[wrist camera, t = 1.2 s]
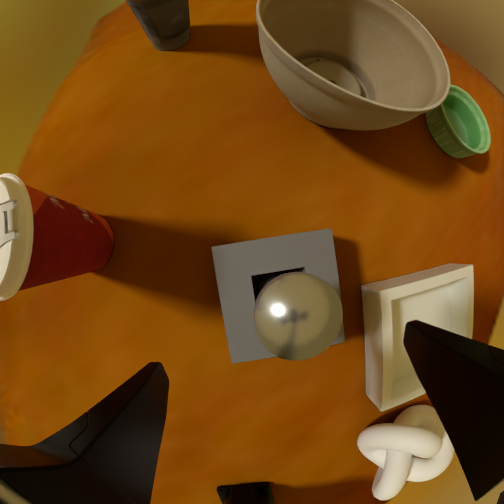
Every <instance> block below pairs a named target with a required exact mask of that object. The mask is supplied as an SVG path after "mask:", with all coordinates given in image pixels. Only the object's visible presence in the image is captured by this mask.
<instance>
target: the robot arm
mask: <svg viewBox="0 0 504 504" xmlns="http://www.w3.org/2000/svg"><path fill="white" fill-rule="evenodd" d="M403 344H404V347H405V349H406V352H407V354H408V356H409V358H410V361H411V363H412V365H413V368H414V370H415V373H416V375H417V377H418V379H419V381H420V382H421V384H422V386H423V388H424V390H425V392H426V393H427V395H428V397H429V399H430V401H431V403H432V405H433V407H434V409H435V411H436V412H437V414H438V416H439V418H440V420H441V422H442V424H443V426H444V429H445V431H446V433H447V435H448V437H449V439H450V441H451V443H452V445H453V448H454V450H455V452H456V454H457V457H458V459H459V461H460V464H461V466H462V469H463V471H464V473H465V476H466V478H467V481H468V483H469V486H470V488H471V491H472V494H473V497H474V499H475V501H477V500H479V499H480V498H482V497H483V496H484V495H486V494H487V493H488V492H490V491H491V490H492V489H494V488H495V487H496V486H498V485H499V484H500V483H501V482H503V481H504V350H502V349H499V348H496V347H493V346H491V345H489V346H488V345H487V344H485V343H482V342H479V341H476V340H473V339H470V338H467V337H464V336H461V335H459V334H456V333H453V332H450V331H447V330H444V329H441V328H439V327H436V326H433V325H430V324H427V323H424V322H422V321H419V320H412V321H409V322H407V323H406V326H405V332H404V338H403ZM168 391H169V379H168V376H167V374H166V372H165V370H164V367H163V365H162V364H161V363H160V362H150V363H148V364H147V365H146V366H145V367H143V368H142V369H141V370H140V371H138V372H137V373H136V374H135V375H133V376H132V377H131V378H130V379H128V380H127V381H126V382H124V383H123V384H122V385H121V386H119V387H118V388H117V389H115V390H114V391H113V392H112V393H110V394H109V395H108V396H106V397H105V398H104V399H103V400H101V401H100V402H99V403H97V404H96V405H95V406H93V407H92V408H91V409H90V410H88V412H86V413H84V414H83V415H82V416H80V417H79V418H78V419H76V420H75V421H73V422H72V423H71V424H69V425H67V426H66V427H64V428H63V429H61V430H60V431H58V432H56V433H55V434H53V435H51V436H50V437H48V438H46V439H45V440H43V441H41V442H39V443H37V444H35V445H32V446H15V445H6V444H0V504H150V501H151V495H152V488H153V483H154V477H155V471H156V466H157V460H158V455H159V450H160V445H161V440H162V435H163V430H164V425H165V420H166V413H167V401H168ZM217 492H218V494H219V497H220V499H221V501H222V503H223V504H274V500H273V496H272V492H271V487H270V484H269V483H267V482H265V483H256V484H246V485H234V486H218V487H217ZM497 504H504V491H503V492H501V493H500V496H499V499H498V502H497Z"/></svg>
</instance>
